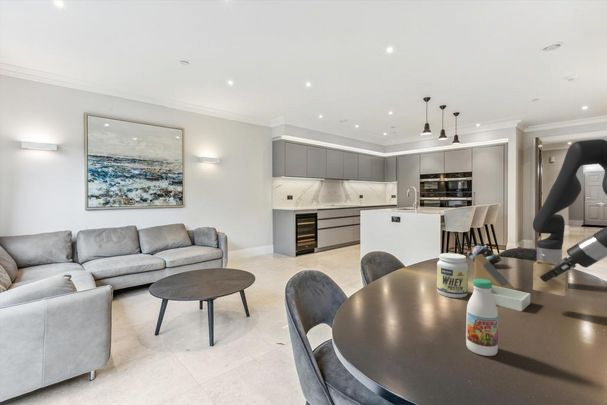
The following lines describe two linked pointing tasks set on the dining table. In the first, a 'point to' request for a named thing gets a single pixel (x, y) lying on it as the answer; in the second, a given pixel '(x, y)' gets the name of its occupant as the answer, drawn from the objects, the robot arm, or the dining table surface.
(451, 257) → the supplement tub
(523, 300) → the grey crate
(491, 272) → the sandwich container
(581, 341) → the dining table surface
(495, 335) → the milk bottle
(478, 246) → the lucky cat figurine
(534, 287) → the oak crate
